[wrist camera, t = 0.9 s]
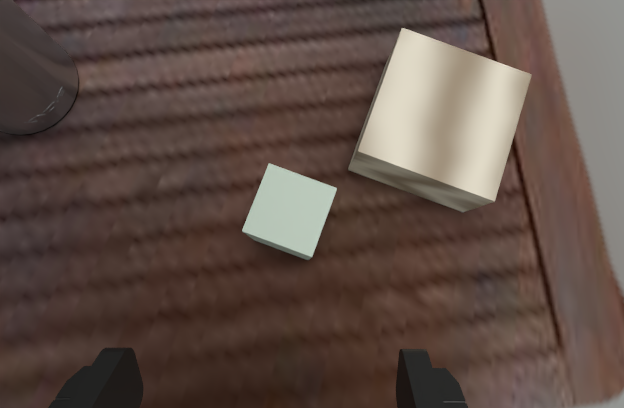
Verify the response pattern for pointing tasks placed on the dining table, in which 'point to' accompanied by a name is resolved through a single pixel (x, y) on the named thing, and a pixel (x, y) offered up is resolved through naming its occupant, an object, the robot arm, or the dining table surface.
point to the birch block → (441, 123)
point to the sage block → (289, 212)
